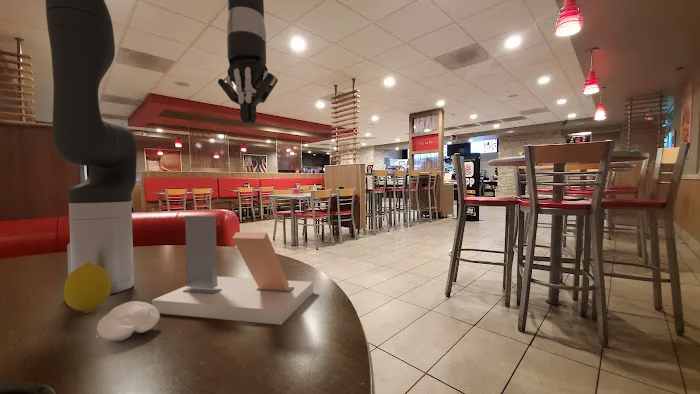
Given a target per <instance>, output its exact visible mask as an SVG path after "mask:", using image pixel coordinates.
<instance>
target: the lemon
mask: <svg viewBox="0 0 700 394" xmlns="http://www.w3.org/2000/svg"><path fill="white" fill-rule="evenodd" d="M110 290H111V279H110V276H109V274H108V272H107V271H106V270H105V269H104V268H103V267H101V266H98V265H94V264H91V263H85V264H84V265H83V266H81V267H79V268H77V269H75V270H74V271H73V272H71V273H70V274H69V276H67V277H66V279H65V282H64V286H63V297H64V301H65V303H66V304H67V306H69V307H70V308H71V309H73V310H76V311H81V312H84V313H85V314H91V313H92V312H94V310H95V309H96V308H98V307H100V306H101V305H103V304H104V303H105V302H106V301H107V300H108V298H109V296H110V295H111V294H110Z"/></svg>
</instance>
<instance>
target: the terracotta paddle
mask: <svg viewBox="0 0 700 394" xmlns="http://www.w3.org/2000/svg"><path fill="white" fill-rule="evenodd" d="M232 241H233V242H234V244H235V246H236V248H237V250H238V251H239V253H240V255H241V258H242V259H243V261H244V264H245V265H246V266H247V269H248V270H249V272H250V274H251V276H252V278H253V279H254V280H255V282H256V284H257V285H258V287H259V289H273V290H287V288H288V285H289V283H288V281H289V280H288V279H287V276H286V274H285V272H284V270H283V268H282V267H283V266H282V265H281V261H280V260H279V258H278V256H277V253H276V251H275V249H274V246H273V244H272V241H271V239H270V237H269V235H268V233H267V232H253V231H252V232H249V231H248V232H246V231H245V232H243V231H240V232H239V231H236V232H235V233H234V235H233V236H232ZM287 280H288V281H287Z"/></svg>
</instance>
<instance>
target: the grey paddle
mask: <svg viewBox="0 0 700 394" xmlns="http://www.w3.org/2000/svg"><path fill="white" fill-rule="evenodd" d="M184 219H185V220H184V221H185V222H184V223H185V254H186V256H185V259H186V261H185V262H186V264H185V265H186V286H187V287H199V288H215V287H217V276H218V257H217V256H218V251H217V249H218V248H217V247H218V246H217V218H216V215H185V218H184Z"/></svg>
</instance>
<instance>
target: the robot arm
mask: <svg viewBox="0 0 700 394" xmlns="http://www.w3.org/2000/svg"><path fill="white" fill-rule="evenodd" d="M264 4H265V3H264V0H227V19H226V20H227V21H226V35H227V36H226V37H227V38H226V41H227V42H226V43H227V44H226V45H227V47H226V48H227V60H228V65H229V66H228V68H227V75H226V76H225V77H224V78H219V79H217V84H218V85H219V86H220V87H221V89H222V91H224V92H225V94H226V96H227V97H228V98H229V99H230V101H231V102H233V103H234V104H235V103H236V104H237V105H238V106H239V110H240V113H239V114H240V120H241V121H242V124H244V125H247V126H248V125H254V124H255V122H256V121H257V106H258V105H259V104H263V103H265V102H266V101H267V100H268V97H269V95H270V94H271V93H272V91H273V90H274V88H275V86H276V85H277V83H278V81H279V80H278V79H279V78H277V77H276V76H275V75H274V74H273V73H270V72H269V70H268V67H267V46H266V45H267V40H266V39H267V34H266V25H265V11H264V10H265V5H264ZM45 14H46V25H47V33H48V38H49V44H50V45H49V46H50V52H51V53H50V54H51V55H50V56H51V67H52V68H51V69H52V78H53V79H52V80H53V98H52V99H53V101H52V103H53V105H52V139H53V144H54V148H55V150H56V151H57V153H58V154H59V156H60V157H61V158H62V159H63V160H64V161H66V162H68V163H69V164H73V165H78V166H83V167H84V166H86V167H89V172H88V177H87V178H86V180H85V181H83V182H81V183H79V184H77V185H74V186H72V187H71V188H69V190H68V219H69V243H67V246H66V248H67V250H66V251H67V252H66V253H67V275H68V276H69V274H70V273H71V272H73V271H74V270H75V269H77V268H79V267H81V266H83V265H84V264H85V263H91V264H94V265H98V266H101V267H103V268H104V269H105V270H106V271H107V272H108V274H109V276H110V279H111V290H110V294H109V295H112V294H116V293H120V292H124V291H127V290H129V289H131V288H133V287H134V286H135V285H134V284H135V274H134V245H133V244H134V243H133V241H134V240H133V238H134V236H133V215H132V214H133V212H132V208H133V207H132V194H133V191H134V189H135V187H136V183H137V159H138V158H137V157H138V156H137V154H138V153H137V151H138V149H137V142H136V139H135V137H134V135H133V133H132V132H131V130H129V129H128V128H127V127H126V126H124V125H122V124H119V123H116V122H113V121H110V120H106V119H102V115H101V114H102V113H101V110H100V102H99V90H100V89H99V88H100V86H101V85H100V84H101V82H102V80H103V78H104V77H105V75H106V73H107V72H108V71H109V69H110V67H111V66H112V64H113V62H114V61H115V55H116V45H115V44H116V42H115V35H114V34H115V33H114V28H113V21H112V17H111V14H110V11H109V9H108V6H107V4H106V1H105V0H45ZM234 85H235V88H234ZM68 276H67V277H68Z"/></svg>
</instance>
